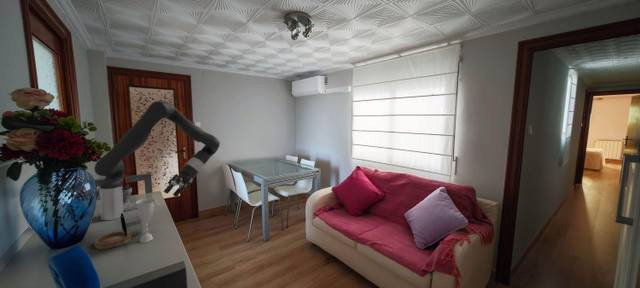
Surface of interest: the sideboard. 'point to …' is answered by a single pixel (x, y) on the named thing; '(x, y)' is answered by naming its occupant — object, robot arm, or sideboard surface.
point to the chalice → (145, 216)
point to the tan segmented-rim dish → (112, 240)
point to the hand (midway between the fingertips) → (169, 194)
